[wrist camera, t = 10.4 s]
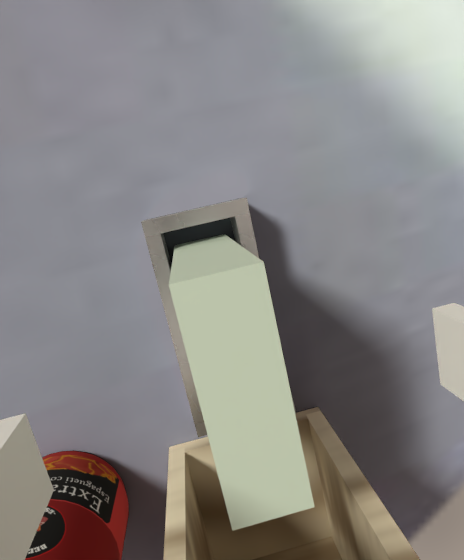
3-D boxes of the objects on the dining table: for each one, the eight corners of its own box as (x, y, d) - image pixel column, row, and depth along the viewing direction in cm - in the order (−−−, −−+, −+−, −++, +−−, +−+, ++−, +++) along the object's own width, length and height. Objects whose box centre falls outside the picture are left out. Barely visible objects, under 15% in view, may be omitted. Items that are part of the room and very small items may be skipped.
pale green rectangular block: (174, 245, 24) (168, 284, 13) (237, 230, 25) (288, 255, 13) (209, 383, 26) (232, 530, 14) (267, 368, 26) (336, 500, 15)
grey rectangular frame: (145, 219, 24) (141, 221, 21) (239, 198, 24) (246, 197, 22) (196, 414, 26) (198, 437, 24) (280, 392, 27) (291, 411, 24)
